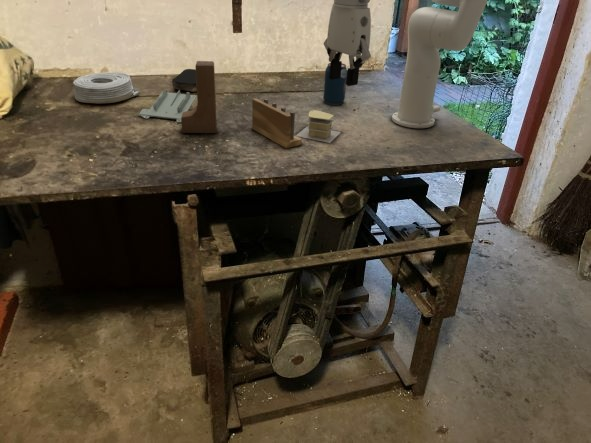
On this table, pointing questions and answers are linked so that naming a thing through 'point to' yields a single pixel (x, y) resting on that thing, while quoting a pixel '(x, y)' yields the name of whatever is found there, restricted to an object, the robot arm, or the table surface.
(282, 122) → the peg rack
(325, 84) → the soda can
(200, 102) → the wooden block
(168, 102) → the metal bracket
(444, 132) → the table surface
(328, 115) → the stacked layers on plate
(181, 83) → the black sponge
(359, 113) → the table surface
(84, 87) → the cable
